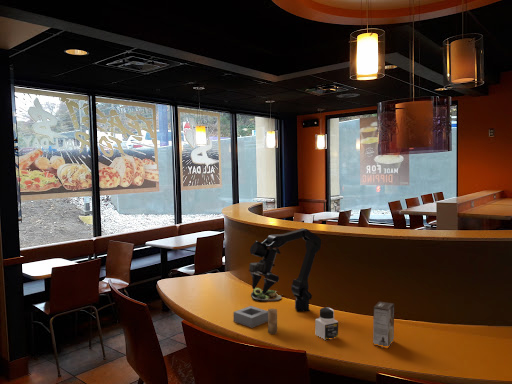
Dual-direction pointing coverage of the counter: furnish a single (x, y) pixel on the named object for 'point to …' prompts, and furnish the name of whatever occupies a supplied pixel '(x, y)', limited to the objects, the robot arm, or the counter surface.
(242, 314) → the socket block
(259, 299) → the salad plate
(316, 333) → the medicine bottle
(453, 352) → the counter surface
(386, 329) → the coffee box
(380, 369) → the counter surface
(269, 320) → the oak peg
